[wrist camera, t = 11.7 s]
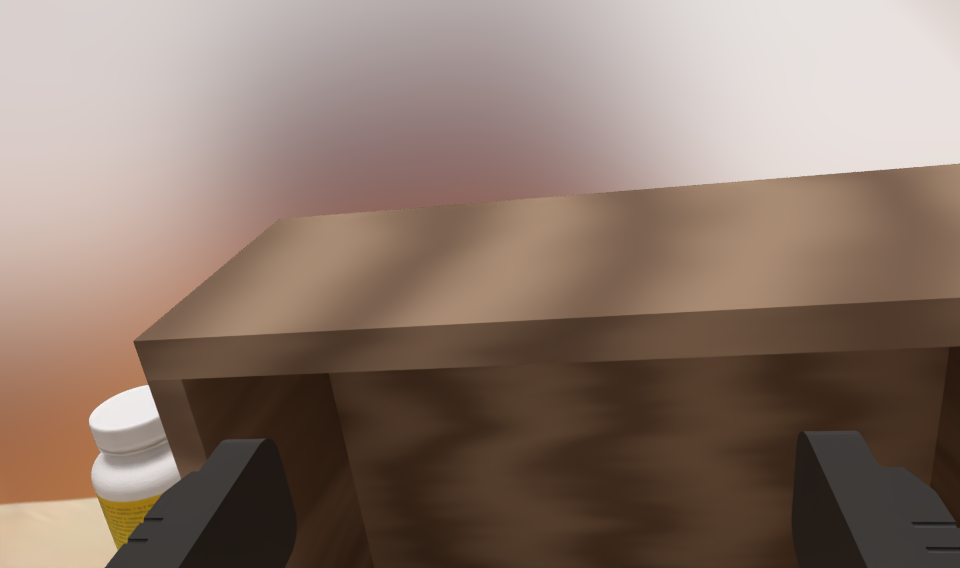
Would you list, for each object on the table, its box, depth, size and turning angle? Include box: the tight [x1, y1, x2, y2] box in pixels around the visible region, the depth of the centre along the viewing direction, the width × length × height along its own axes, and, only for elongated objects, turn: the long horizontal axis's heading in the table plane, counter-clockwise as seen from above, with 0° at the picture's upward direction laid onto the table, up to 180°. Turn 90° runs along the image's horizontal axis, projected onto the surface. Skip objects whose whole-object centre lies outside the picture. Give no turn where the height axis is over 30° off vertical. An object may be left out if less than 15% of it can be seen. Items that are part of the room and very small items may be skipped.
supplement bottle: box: [89, 385, 181, 550], centre depth 35 cm, size 5×5×10 cm
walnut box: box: [134, 164, 960, 568], centre depth 25 cm, size 25×10×18 cm, turn 82°
